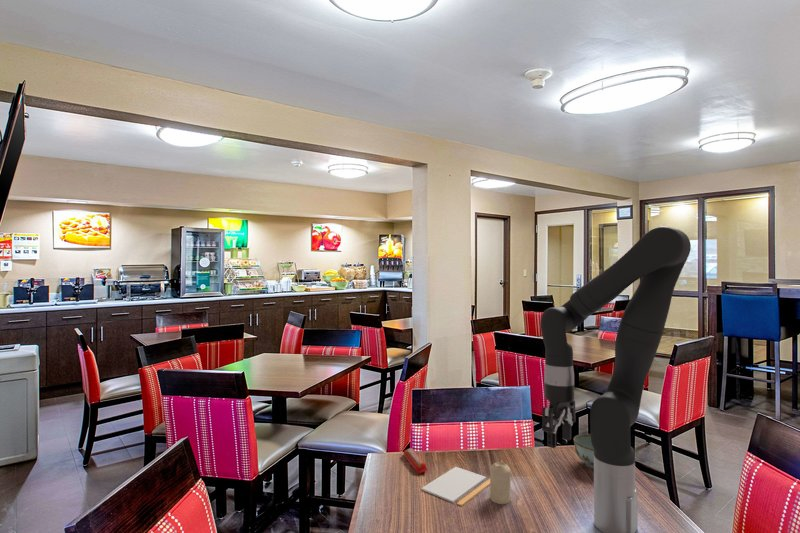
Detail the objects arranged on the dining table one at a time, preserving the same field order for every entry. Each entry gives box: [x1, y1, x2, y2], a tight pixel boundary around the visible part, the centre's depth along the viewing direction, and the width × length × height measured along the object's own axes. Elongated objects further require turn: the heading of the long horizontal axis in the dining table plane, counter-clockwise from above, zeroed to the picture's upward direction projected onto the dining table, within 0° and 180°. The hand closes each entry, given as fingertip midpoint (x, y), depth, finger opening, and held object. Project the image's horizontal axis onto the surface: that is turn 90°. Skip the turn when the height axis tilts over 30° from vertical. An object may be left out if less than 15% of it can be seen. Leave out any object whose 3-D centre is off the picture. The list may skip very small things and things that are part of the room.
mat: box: [421, 466, 487, 504], centre depth 133 cm, size 11×18×1 cm, turn 140°
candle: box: [489, 461, 512, 505], centre depth 124 cm, size 6×6×10 cm
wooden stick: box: [456, 478, 490, 507], centre depth 128 cm, size 2×18×1 cm, turn 140°
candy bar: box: [403, 447, 428, 475], centre depth 147 cm, size 16×4×3 cm, turn 17°
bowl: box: [573, 433, 594, 471], centre depth 144 cm, size 14×13×8 cm
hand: (559, 443), depth 119 cm, fingers open, 8 cm apart
